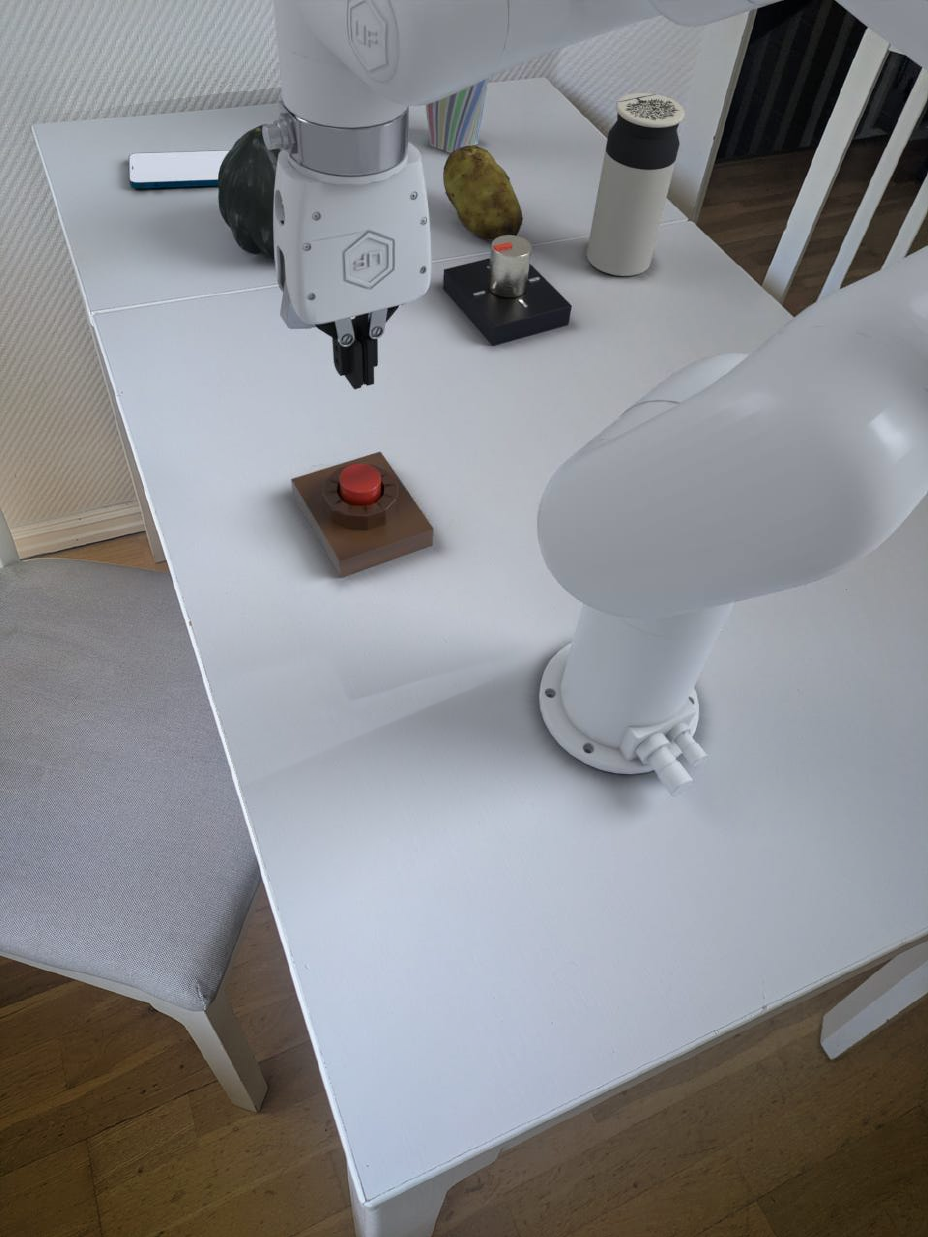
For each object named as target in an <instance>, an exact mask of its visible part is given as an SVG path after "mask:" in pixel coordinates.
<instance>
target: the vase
mask: <svg viewBox="0 0 928 1237" xmlns="http://www.w3.org/2000/svg"><path fill="white" fill-rule="evenodd" d="M490 79H491V78H488V79H486V80H484V81H482V82H480V83H478V84H476V85H473V86H471V87H469V88H466V89H464V90H462V91H460V92H457V93H455V94H453V95H451V96H448V97H446V98H444V99H441V100H439V101H436V102H433V103H430V104H427V105H425V113H426V121H427V128H428V133H429V146H430V147H433V148H436V149H438V150H441V151H445V152H446V153H449V154H451V153H452V152H453V151H455V150H456V149H458V148H461V147H464V146H473V145H475V146H477V145H478V144H479V135H480V132H481V127H482V120H483V116H484V111H485V107H486V106H485V105H486V98H487V92H488V85H489V81H490Z"/></svg>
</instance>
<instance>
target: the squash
mask: <svg viewBox="0 0 928 1237" xmlns="http://www.w3.org/2000/svg"><path fill="white" fill-rule="evenodd" d="M263 125H267V123H264V124H260V125H258V126H256V127H253V128H251V129H250V130H248V131H246V132H245V133H244V134H243V135H241V136H240V137H239V138H238V139H237V140H236V141H235V142H234V143H233V145H232V147H231V149H229V150H230V151H229V152H228V154H227V155H226V156H225V158H224V160H223V161H222V164H221V166H220V170H219V173H218V185H217V186H218V195H217V198H218V201H217V202H218V207H219V212H220V215H221V217H222V219H223V220H224V222H225V224H226V225H227V226H228V228H230V231H231V234H232V236H233V238H234V240H235V242H236V244H237V246H238V247H239V248H240V249H242V250H243V251H244V252H246V253H248V254H251V255H252V254H253V255H258V254H263V256H265V257H266V258H267V259H268V260H271V261H275V256H274V229H273V210H274V188H275V177H276V169H277V162H278V155H279V152H280V151H282V150H280V149H279V148H278V149H272V150H268V149H267V147H266V145H265V142H264V139H263V134H262V127H263Z"/></svg>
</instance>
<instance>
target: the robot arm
mask: <svg viewBox="0 0 928 1237" xmlns="http://www.w3.org/2000/svg"><path fill="white" fill-rule="evenodd" d="M781 1H783V0H273V1H272V3H273V11H274V23H275V33H276V34H275V35H276V45H277V55H278V56H277V57H278V67H279V77H280V79H279V81H280V88H281V89H280V90H281V91H280V92H281V100H282V101H279V102H278V104H279V105H278V106H279V116H278V119H275V120H274V121H273V123H268V124H267V123H266V124H267V125H263V124H262V125H263V127H262V134H263V139H264V142H265V145H266V147H267V149H268V150H272V149H278V148H279V149H280V150H282V151H280V152H279V155H278V162H277V169H276V177H275V188H274V210H273V229H274V256H275V260H274V266H275V275H276V279H277V280H276V281H277V286H278V287H279V290H280V291H281V292H282V298H281V304H280V311H279V316H280V318H281V320H282V321H283V322H284V324H285V325H286V327H287V328H288V329H290V330H302V329H303V330H304V329H306V330H307V329H312V328H317V329H318V330H320V332H323V333H324V334H326V335H327V336H329V337H330V338H331V341H332V356H333V365H334V368H335V370H336V372H337V374H338V375H339V377H342V376H344V377H345V379H346V380H347V381H348V383H349V384H350V385H351V387H352V389H353V390H358V389H362V387H363V386H366V387H369V386H371V385H372V386H373V385H375V368H377V367H378V366H379V354H378V353H379V343H378V342H379V341H378V340H379V339H380V338H381V337H382V336H383V335H384V333H385V329H386V323H387V322H389V320H390V319H391V317H392V316H393V315H394V314H395V313H396V311H397V310H398V309H399V307H400V306H404V305H406V304H408V303H411V302H414V301H415V300H418V299H420V298H421V297H422V296H424V295H425V294H426V293H427V292H428V290H429V288H430V285H431V278H432V236H431V220H430V209H429V201H428V191H427V186H426V178H425V172H424V166H423V160H422V156H421V152H420V150H419V149H418V148H417V147H416V146H415V145H413V144H412V143H411V142H409V121H410V120H409V115H410V114H409V112H410V110H409V108H410V107H420V106H426V105H427V104H430V103H433V102H436V101H439V100H441V99H444V98H446V97H448V96H451V95H453V94H455V93H457V92H460V91H462V90H464V89H466V88H469V87H471V86H473V85H476V84H478V83H480V82H482V81H484V80H486V79H488V78H490V79H491V78H493V77H495V76H498V75H500V74H502V73H504V72H505V73H506V72H507V71H509V70H511V69H514V68H517V67H519V66H522V65H524V64H526V63H529V62H532V61H533V60H537V59H539V58H541V57H543V56H546V55H549V54H551V53H553V52H556V51H559V50H561V49H563V48H566V47H569V46H572V45H574V44H578V43H580V42H583V41H586V40H588V39H592V38H594V37H598V36H600V35H603V34H606V33H610V32H612V31H615V30H618V29H621V28H624V27H627V26H630V25H634V24H637V23H640V22H643V21H646V20H649V19H654V18H656V17H661V16H662V17H664V18H665V19H667V20H668V21H670V22H671V23H673V24H675V25H678V26H681V27H687V28H690V27H691V28H692V27H693V28H694V27H695V28H696V27H701V26H707V25H709V24H713V23H717V22H720V21H723V20H726V19H729V18H731V17H734V16H738V15H741V14H744V13H747V12H750V11H754V10H757V9H760V8H763V7H766V6H769V5H773V4H775V3H778V2H781ZM834 1H835V2H837V3H838V4H839V5H840V6H841V7H842V8H844V9H845V10H846V11H847V12H848V13H850V14H851V15H852V16H854V17H855V18H856V19H857V20H858V21H859V22H860V23H862V24H863V25H865V26H866V27H867V28H869V29H870V30H871V31H872V32H874V33H875V34H876V35H877V36H879V37H880V38H882V39H883V41H885V42H887V43H888V44H889V45H891V46H892V47H894V48H895V49H896V50H897V51H899V52H900V53H902V54H903V55H904V56H906V57H907V58H909V59H910V60H911V61H913V62H914V63H915V64H917V65H918V66H920V68H923V69H924V70H925V71H927V72H928V0H834ZM927 494H928V245H925V246H924V247H922V248H920V249H918V250H917V251H915V252H913V253H910V254H909V255H907V256H905V257H904V258H901V259H900V260H898V261H895V262H893V263H892V264H890V265H888V266H886V267H883V268H882V269H879V270H878V271H875V272H873V273H871V274H870V275H869V274H868V275H867V276H866V277H864V278H862V279H859V280H857V281H854V282H853V283H850V284H848V285H846V286H844V287H842V288H839V289H837V290H835V291H833V292H831V293H829V294H827V295H826V296H823V297H822V298H820V299H818V300H816V301H815V302H814V303H812V304H810V305H808V306H807V307H806V308H804V309H803V310H802V311H801V312H800V313H798V314H797V315H795V316H794V317H793V318H791V319H790V320H789V321H788V322H787V323H785V324H784V325H783V326H782V327H781V328H779V329H778V330H777V331H776V332H775V333H773V335H771V336H770V337H768V338H767V339H766V341H764V342H763V343H761V345H759V346H758V347H757V348H755V349H754V350H753V351H752V352H751V353H742V352H726V353H719V354H714V355H710V356H706V357H703V358H701V359H698V360H696V361H693V362H692V363H689V364H687V365H686V366H684V367H682V368H680V369H678V370H677V371H675V372H674V373H672V374H671V375H670V376H668V377H667V378H665V379H664V380H663V381H661V382H660V383H658V384H657V385H656V386H654V387H653V388H652V389H651V390H650V391H648V392H647V393H646V394H645V395H643V396H642V397H641V398H639V399H638V400H637V401H636V402H634V403H633V404H631V406H629V407H628V408H627V409H626V410H625V411H624V412H623V413H621V415H619V417H618V418H616V419H615V420H613V422H612V423H610V424H609V425H608V426H607V427H605V428H604V429H603V430H602V431H600V432H599V433H598V434H597V435H595V436H594V437H593V438H592V439H590V440H589V441H588V442H587V443H585V444H584V445H583V446H582V447H580V448H579V449H577V451H576V452H574V453H573V454H572V455H570V457H569V458H567V459H566V460H565V461H564V462H563V463H562V464H560V466H559V467H558V468H557V469H556V470H555V471H554V473H553V474H552V476H551V477H550V478H549V480H548V481H547V483H546V485H545V487H544V489H543V491H542V494H541V497H540V500H539V502H538V508H537V514H536V536H537V542H538V546H539V550H540V553H541V556H542V558H543V561H544V563H545V565H546V567H547V569H548V571H549V572H550V574H551V575H552V577H553V578H554V579H555V581H556V582H557V583H558V584H559V585H560V586H561V588H562V589H563V590H564V591H566V592H567V593H568V594H569V595H571V597H573V598H574V599H576V600H577V601H579V602H581V603H582V605H581V607H580V612H579V616H578V619H577V623H576V627H575V630H574V634H573V638H572V641H571V642H569V643H568V644H566V645H564V646H563V647H561V649H559V650H558V651H557V652H556V653H555V654H554V655H553V657H552V658H551V659H550V660H549V662H548V664H547V665H546V667H545V669H544V670H543V674H542V677H541V681H540V686H539V694H538V699H539V701H538V702H539V710H540V712H541V716H542V719H543V722H544V724H545V726H546V727H547V729H548V731H549V734H550V736H552V737H553V738H554V740H555V742H557V744H558V745H559V746H560V747H561V748H562V749H563V750H565V751H566V752H567V753H568V754H569V755H571V756H572V757H574V758H575V759H577V760H579V761H580V762H582V763H584V764H585V765H587V766H590V767H593V768H595V769H598V770H600V771H604V772H609V773H613V774H622V775H635V774H637V775H638V774H644V773H645V774H646V773H649V772H652V771H654V772H655V773H656V775H657V777H658V779H659V780H660V781H661V783H662V784H663V786H664V787H665V788H666V790H667V792H668V793H669V794H670V796H671V797H672V798H674V797H677V796H679V795H681V794H683V793H685V792H686V791H687V790H689V789H690V788H691V787H692V786H693V785H694V782H695V780H694V779H693V778H692V777H691V775H690V774H689V772H688V771H687V770H686V768H685V767H684V766H683V765H682V763H681V762H680V761H678V760H677V758H678V757H680V756H681V755H683V757H684V758H685V759H686V760H687V762H688V763H689V765H690V766H691V767H692V768H696V767H699V766H700V765H702V764H703V763H704V762H706V761H707V760H708V758H709V757H708V756H709V755H708V754H707V753H706V752H705V750H704V749H703V748H702V747H701V745H700V744H699V743H698V742H696V740H695V739H694V738H693V737H694V735H695V732H696V731H697V727H698V723H699V719H700V703H699V699H698V695H697V694H698V693H697V691H696V689H695V685H696V684H697V681H698V679H699V677H700V675H701V673H702V671H703V668H704V666H705V664H706V662H707V660H708V658H709V656H710V654H711V652H712V651H713V648H714V646H715V644H716V642H717V640H718V637H719V636H720V633H721V632H722V631H721V630H722V629H723V627H724V625H725V623H726V620H727V619H728V617H729V616H730V614H731V613H732V610H733V609H734V606H735V604H736V603H737V602H741V601H745V600H750V599H755V598H758V597H763V596H768V595H771V594H776V593H779V592H783V591H788V590H792V589H795V588H798V587H803V586H807V585H810V584H813V583H816V582H819V581H821V580H824V579H826V578H829V577H831V576H833V575H834V574H835V575H836V573H839V572H840V571H842V570H844V569H846V568H848V567H850V566H852V565H854V564H855V563H857V562H859V561H861V560H862V559H863V558H865V557H867V556H868V555H869V554H870V553H872V552H873V551H875V550H876V549H877V548H878V547H879V546H880V545H882V544H883V543H884V542H886V540H888V538H890V536H891V535H892V534H893V533H895V532H896V531H897V529H898V528H899V527H900V526H901V525H902V524H903V523H904V521H905V520H906V519H907V518H908V517H909V516H910V515H911V514H912V512H913V511H914V510H915V509H916V508H917V506H918V505H919V504H920V502H921V501H922V500H923V499H924V498H925V497H926V495H927Z"/></svg>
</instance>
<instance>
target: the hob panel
mask: <svg viewBox="0 0 928 1237" xmlns="http://www.w3.org/2000/svg"><path fill="white" fill-rule="evenodd" d="M489 267H490V257H489V258H485V259H481V260H476V261H473V262H468V263H464V264H460V265H456V266H452V267H448V268H444V269H443V277H442V278H443V279H442V289H443V291H444V292H445V293H446V294H447V295H448V296H449V298H450V299H451V300H452V301H453V302H454V303H455V305H456V306H457V307H458V308H459V309H460V310H461V311H462V313H463V314H464V315H465V316H466V317H467V318H468V319H469V321H470V322H471V323H472V324H473V325H474V326H475V327H476V329H477V330H478V331H479V332H480V333H481V334H482V335H483V337H484V338H485V339H486V340H487V341H488V342H489V343H490V345H491V346H493V347H494V346H498V345H501V344H505V343H509V342H512V341H516V340H520V339H522V338H526V337H529V336H533V335H538V334H541V333H544V332H548V331H551V330H555V329H559V328H562V327H566V326H569V325H570V319H571V315H572V314H571V313H572V308H573V305H572V304H571V303H570V302H569V301H568V300H567V299H566V298H565V297H564V296H563V294H561V293H560V292H559V290H558V289H556V288H555V287H554V286H553V285H552V284H551V282H549V280H548V279H547V278H545V277H544V276H543V275H542V274H541V272H540V271H538V270H537V268H535V267H534V265H532V264H531V263H530V264H529V272H528V280H527V287H526V291H525V292H524V293H523V294H522V295H520V296H518V297H513V298H506V297H501V296H498V295H495V294H494V293H492V292H491V291H490V290H489V288H488V277H489Z"/></svg>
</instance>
